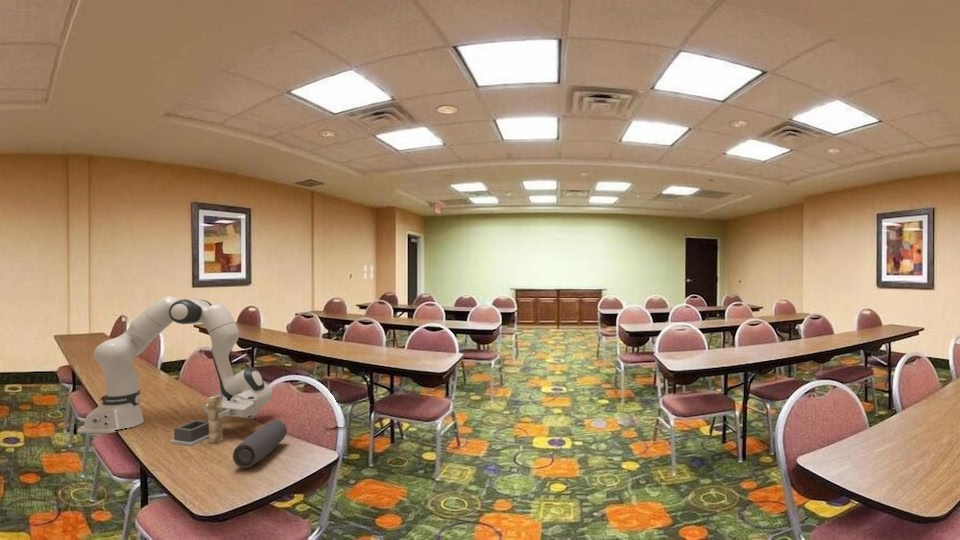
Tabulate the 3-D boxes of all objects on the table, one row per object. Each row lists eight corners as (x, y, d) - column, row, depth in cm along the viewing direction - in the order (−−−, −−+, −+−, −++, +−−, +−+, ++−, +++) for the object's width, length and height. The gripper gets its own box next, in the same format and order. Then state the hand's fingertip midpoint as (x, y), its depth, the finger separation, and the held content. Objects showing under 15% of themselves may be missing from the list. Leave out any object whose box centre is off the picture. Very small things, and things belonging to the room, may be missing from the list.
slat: (217, 439, 179) (216, 394, 179) (222, 439, 179) (221, 395, 178) (209, 443, 175) (208, 397, 175) (214, 443, 175) (213, 398, 174)
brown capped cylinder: (334, 430, 187) (333, 383, 187) (318, 429, 189) (318, 382, 188) (343, 424, 195) (342, 379, 194) (328, 423, 196) (327, 378, 195)
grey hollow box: (196, 431, 187) (196, 418, 187) (216, 434, 184) (216, 421, 184) (170, 443, 175) (169, 429, 175) (191, 446, 173) (190, 432, 173)
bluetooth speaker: (265, 443, 175) (264, 418, 175) (288, 443, 175) (288, 418, 174) (231, 471, 152) (230, 442, 152) (257, 471, 152) (257, 442, 152)
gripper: (221, 394, 192) (192, 405, 178) (260, 398, 186) (234, 409, 173) (221, 409, 192) (192, 420, 179) (260, 413, 187) (234, 425, 173)
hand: (213, 415), depth 176 cm, fingers closed on slat, 2 cm apart
